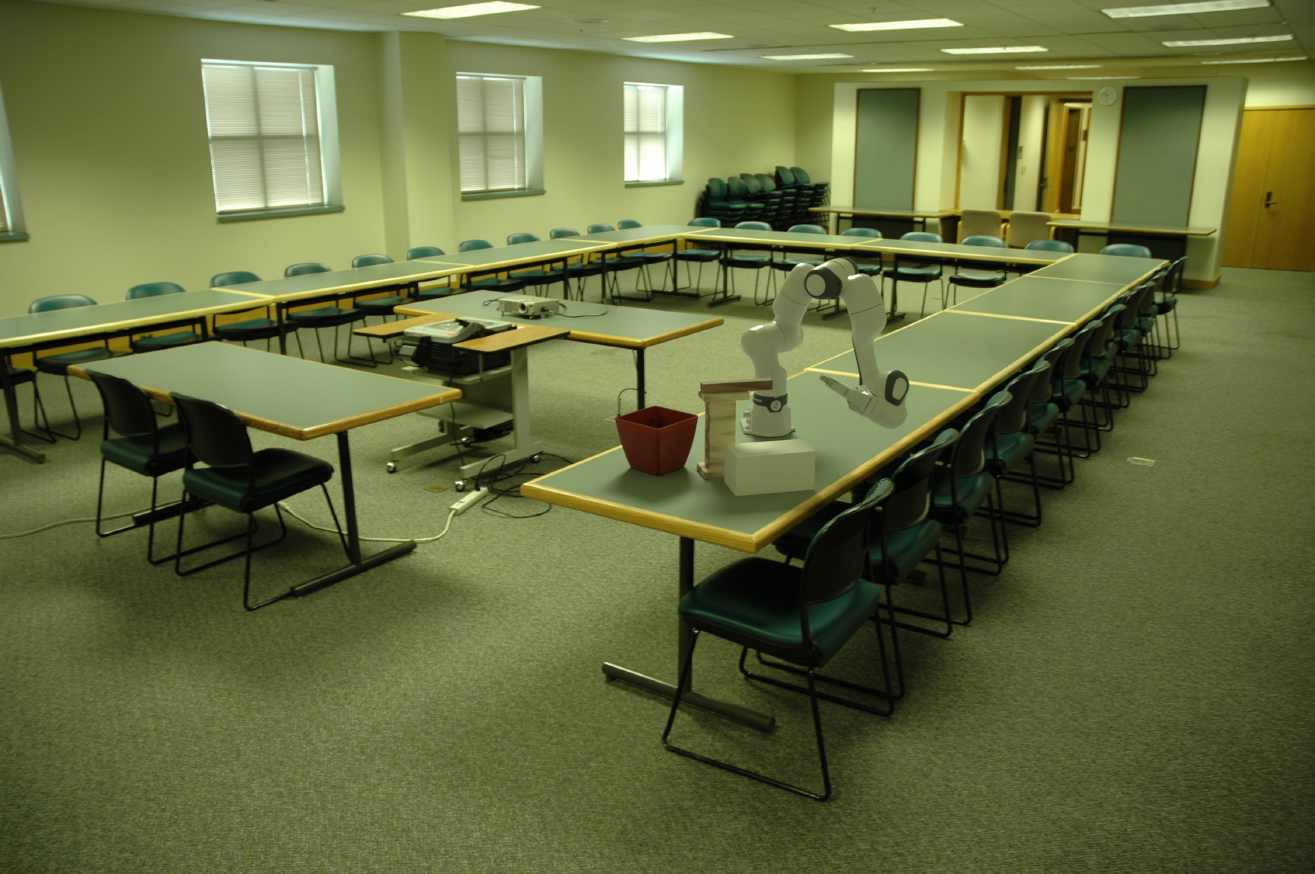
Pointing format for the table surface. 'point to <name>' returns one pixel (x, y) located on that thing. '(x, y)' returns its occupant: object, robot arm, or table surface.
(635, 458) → the plant pot
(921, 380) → the table surface
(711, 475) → the wooden i-beam pillar
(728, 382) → the walnut bar
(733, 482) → the white rectangular block
